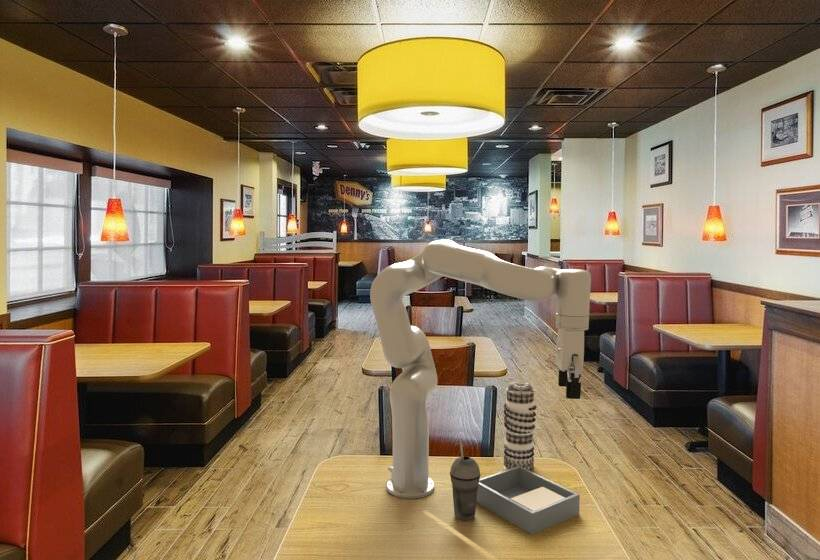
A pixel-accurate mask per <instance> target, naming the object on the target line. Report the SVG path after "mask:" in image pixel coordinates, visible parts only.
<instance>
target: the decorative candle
mask: <svg viewBox="0 0 820 560" xmlns="http://www.w3.org/2000/svg"><path fill="white" fill-rule="evenodd" d="M505 390H506V398H505V402H504V404H503V409H504V410H503V415H504V417H503V420H504V422H503V426H504V431H505V438H504V445H503V448H504V449H503V450H504V451H503V454H504V455H503V471H505V470H508V469H511V468H514V467H517V466H521V467H523V468H525V469H527V470H529V471H532V469H534V467H535V464H534V463H535V457H534V455H535V452H534V450H535V446H534V438H533V437H534V433H535V430H536V429H535V428H536V425H535V424H534V422H536V420H537V418H535V417H536V416H537V413H536V412H535V410H537V408H538V407H537V405H535V392H536V389H535V388H533V386H532V384H530V383H528V382H523V381H513V382H511V383H510V384H509V386H507V387H505Z"/></svg>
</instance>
